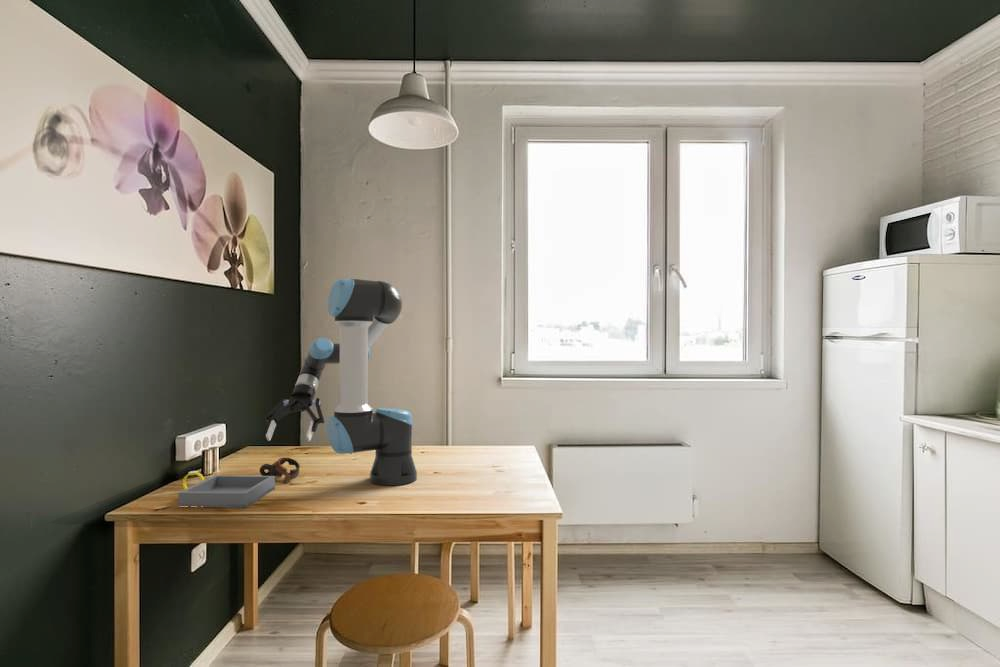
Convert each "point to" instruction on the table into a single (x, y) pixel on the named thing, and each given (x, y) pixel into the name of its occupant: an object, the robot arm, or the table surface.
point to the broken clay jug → (281, 469)
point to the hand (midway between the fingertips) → (287, 438)
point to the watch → (192, 474)
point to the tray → (227, 491)
